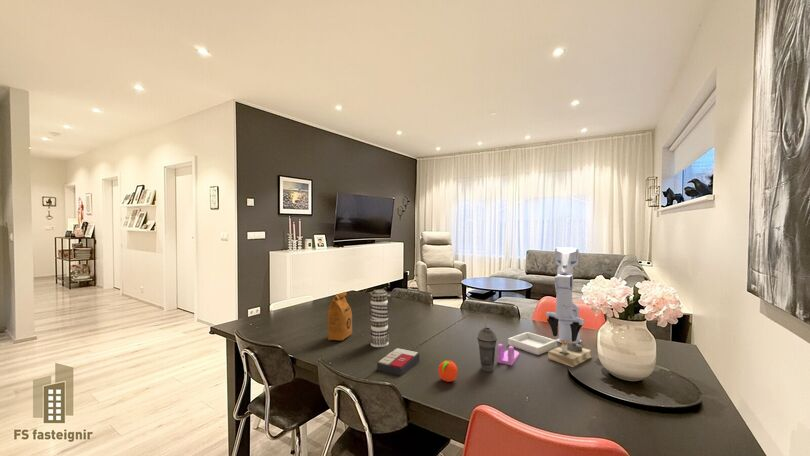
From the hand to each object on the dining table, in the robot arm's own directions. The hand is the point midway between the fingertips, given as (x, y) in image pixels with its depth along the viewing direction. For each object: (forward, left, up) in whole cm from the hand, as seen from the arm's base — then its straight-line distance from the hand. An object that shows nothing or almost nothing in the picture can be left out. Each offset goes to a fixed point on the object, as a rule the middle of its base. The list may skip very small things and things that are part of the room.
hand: (564, 338), depth 130 cm
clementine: (+49, -16, -9) cm, 53 cm away
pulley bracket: (-4, 0, -9) cm, 10 cm away
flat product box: (+55, -37, -10) cm, 68 cm away
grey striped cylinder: (+49, -62, -9) cm, 80 cm away
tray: (-4, -17, -9) cm, 20 cm away
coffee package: (+60, -81, -9) cm, 102 cm away
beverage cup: (+30, -14, -9) cm, 35 cm away
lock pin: (0, 0, -9) cm, 9 cm away
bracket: (+15, -15, -9) cm, 24 cm away
